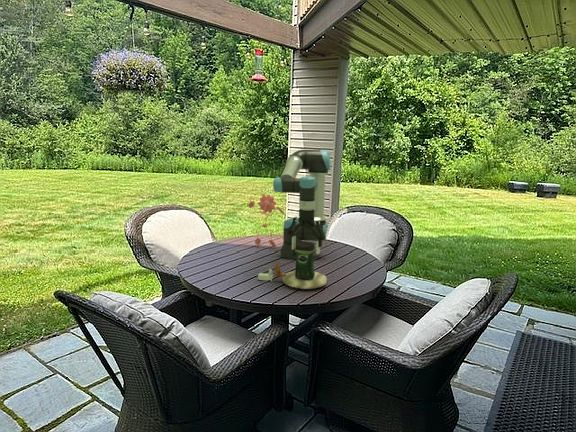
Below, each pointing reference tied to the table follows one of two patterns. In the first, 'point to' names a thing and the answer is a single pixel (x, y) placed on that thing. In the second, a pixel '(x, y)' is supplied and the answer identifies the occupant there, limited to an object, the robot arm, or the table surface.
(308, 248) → the coffee jar
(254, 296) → the table surface
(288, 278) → the turntable
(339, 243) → the table surface
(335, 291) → the table surface
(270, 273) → the pale green block
